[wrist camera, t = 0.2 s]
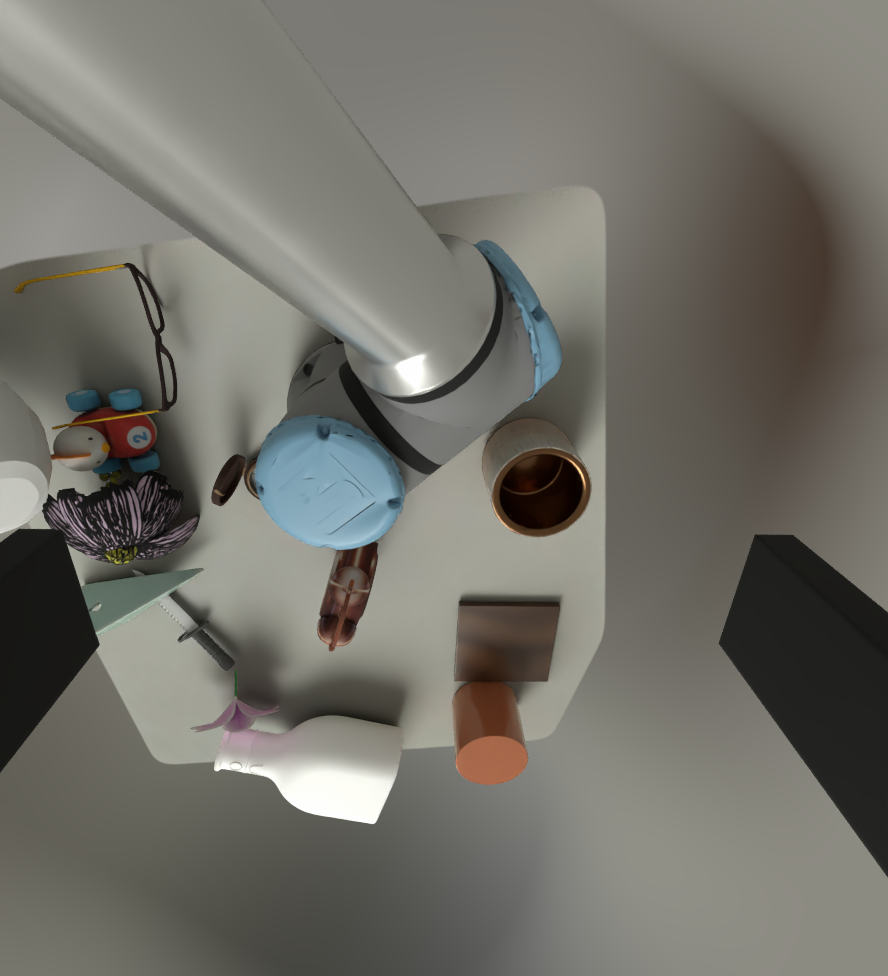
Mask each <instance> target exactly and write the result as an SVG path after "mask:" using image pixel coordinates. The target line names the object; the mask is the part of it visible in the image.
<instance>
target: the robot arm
mask: <svg viewBox="0 0 888 976" xmlns="http://www.w3.org/2000/svg"><path fill="white" fill-rule="evenodd" d="M0 98H1V99H2V100H3V101H5V102H6V103H8V104H9V105H10V106H12V107H13V108H15V109H16V110H18V111H19V112H21V113H22V114H23V115H25V116H26V117H28V118H29V119H30V120H32V121H33V122H35V123H36V124H37V125H39V126H40V127H41V128H43V129H44V130H46V131H47V132H49V133H50V134H51V135H53V136H54V137H56V138H57V139H59V140H60V141H61V142H63V143H64V144H65V145H67V146H68V147H70V148H71V149H72V150H74V151H75V152H77V153H78V154H80V155H81V156H82V157H84V158H85V159H87V160H88V161H89V162H91V163H92V164H94V165H95V166H96V167H98V168H99V169H101V170H102V171H104V172H105V173H106V174H108V175H109V176H110V177H112V178H113V179H115V180H116V181H118V182H119V183H120V184H122V185H123V186H125V187H126V188H127V189H129V190H130V191H132V192H133V193H134V194H136V195H137V196H139V197H140V198H141V199H143V200H144V201H146V202H147V203H148V204H150V205H151V206H153V207H154V208H156V209H157V210H158V211H160V212H161V213H163V214H164V215H165V216H167V217H168V218H170V219H171V220H172V221H174V222H175V223H177V224H178V225H179V226H181V227H182V228H184V229H185V230H187V231H188V232H189V233H191V234H192V235H194V236H195V237H196V238H198V239H199V240H201V241H202V242H203V243H205V244H206V245H208V246H209V247H210V248H212V249H213V250H215V251H216V252H217V253H219V254H220V255H222V256H223V257H225V258H226V259H227V260H229V261H230V262H232V263H233V264H234V265H236V266H237V267H239V268H240V269H241V270H243V271H244V272H246V273H247V274H248V275H250V276H251V277H253V278H254V279H255V280H257V281H258V282H260V283H261V284H263V285H264V286H265V287H267V288H268V289H270V290H271V291H272V292H274V293H275V294H277V295H278V296H279V297H281V298H282V299H284V300H285V301H286V302H288V303H289V304H291V305H292V306H293V307H295V308H296V309H298V310H299V311H301V312H302V313H303V314H305V315H306V316H308V317H309V318H310V319H312V320H313V321H315V322H316V323H317V324H319V325H320V326H322V327H323V328H324V329H326V330H327V331H329V332H330V333H332V334H333V335H334V336H335V342H332V343H329V344H327V345H325V346H322V347H321V348H319V349H317V350H316V351H315V352H313V353H312V354H311V355H310V356H309V357H308V358H307V359H306V360H305V361H304V362H303V363H302V364H301V365H300V367H299V368H298V370H297V371H296V373H295V375H294V377H293V379H292V381H291V384H290V388H289V392H288V398H287V414H286V415H285V416H284V418H283V419H282V420H281V422H280V423H279V424H278V425H277V426H276V427H275V428H273V429H272V430H271V431H270V432H269V433H268V435H267V436H266V440H265V441H264V442H263V444H262V449H261V451H260V454H259V456H258V459H257V463H256V468H255V480H256V486H257V493H258V496H259V498H260V501H261V503H262V505H263V507H264V509H265V510H266V512H267V513H268V515H269V516H270V517H271V518H272V520H273V521H274V522H275V523H276V524H277V525H278V526H279V527H280V528H282V529H283V530H284V531H285V532H287V533H288V534H289V535H291V536H293V537H294V538H296V539H298V540H300V541H302V542H304V543H307V544H309V545H312V546H316V547H332V548H334V549H336V550H346V549H353V548H358V547H361V546H364V545H367V544H370V543H372V542H374V541H375V540H377V539H379V538H380V537H381V536H383V535H384V534H385V533H386V532H387V531H388V530H389V529H390V528H391V526H392V525H393V524H394V522H395V520H396V519H397V516H398V514H400V513H401V510H402V508H403V502H404V496H405V495H406V494H407V493H408V492H409V491H411V490H412V489H413V488H415V487H416V486H417V485H418V484H420V483H421V482H422V481H423V480H425V479H426V478H427V477H428V476H430V475H431V474H432V473H433V472H434V471H436V470H437V469H438V468H440V467H441V466H442V465H444V464H446V463H447V462H448V461H449V460H451V459H452V458H453V457H454V456H456V455H457V454H458V453H460V452H461V451H462V450H463V449H465V448H466V447H467V446H468V445H470V444H471V443H472V442H473V441H475V440H476V439H477V438H479V437H480V436H481V435H482V434H484V433H485V432H486V431H487V430H489V429H490V428H491V427H493V426H494V425H495V424H496V423H498V422H499V421H500V420H501V419H503V418H504V417H505V416H506V415H508V414H509V413H510V412H512V411H513V410H514V409H515V408H517V407H518V406H519V405H520V404H522V403H523V402H527V401H529V400H531V399H532V398H534V397H535V396H536V394H537V392H538V390H539V389H540V388H541V387H543V386H544V385H545V384H546V383H547V382H548V381H549V380H550V379H552V378H553V377H554V376H555V375H556V374H557V372H558V370H559V369H560V366H561V363H562V350H561V345H560V342H559V339H558V336H557V333H556V331H555V328H554V326H553V324H552V322H551V320H550V318H549V316H548V314H547V313H546V312H545V311H544V309H543V308H541V305H540V301H539V299H538V297H537V295H536V293H535V291H534V290H533V288H532V287H531V285H530V284H529V282H528V281H527V279H526V278H525V276H524V275H523V273H522V272H521V271H520V269H519V268H518V267H517V265H516V264H515V263H514V262H513V261H512V259H511V258H510V257H509V256H508V255H507V254H506V253H505V252H504V251H503V249H501V248H500V247H499V246H498V245H497V244H495V243H494V242H492V241H488V240H482V241H480V242H478V243H477V244H475V245H471V244H470V243H469V242H467V241H465V240H463V239H462V238H459V237H456V236H452V235H446V234H436V232H435V231H434V230H433V228H432V227H431V226H430V224H429V223H428V222H427V220H426V219H425V218H424V216H423V215H422V214H421V212H420V211H419V209H418V208H417V207H416V205H415V204H414V203H413V202H412V200H411V199H410V197H409V196H408V195H407V193H406V192H405V191H404V189H403V188H402V187H401V185H400V184H399V182H398V181H397V180H396V179H395V177H394V176H393V175H392V173H391V172H390V170H389V169H388V168H387V166H386V165H385V164H384V162H383V161H382V160H381V158H380V157H379V155H378V154H377V153H376V151H375V150H374V149H373V147H372V146H371V145H370V144H369V142H368V141H367V139H366V138H365V137H364V135H363V134H362V133H361V131H360V130H359V128H358V127H357V126H356V125H355V123H354V122H353V120H352V119H351V118H350V117H349V115H348V114H347V113H346V111H345V110H344V108H343V107H342V106H341V104H340V103H339V101H338V100H337V99H336V97H335V96H334V95H333V93H332V92H331V91H330V89H329V88H328V87H327V85H326V84H325V83H324V82H323V80H322V79H321V77H320V76H319V74H318V73H317V72H316V70H315V69H314V68H313V67H312V65H311V64H310V62H309V61H308V60H307V58H306V57H305V56H304V54H303V53H302V52H301V50H300V49H299V48H298V46H297V45H296V43H295V42H294V41H293V40H292V38H291V37H290V35H289V34H288V33H287V31H286V30H285V29H284V27H283V26H282V25H281V23H280V22H279V20H278V19H277V18H276V16H275V15H274V14H273V12H272V11H271V10H270V8H269V7H268V6H267V4H266V3H265V2H264V0H0ZM719 644H720V646H721V647H722V649H723V650H724V651H725V653H726V654H727V655H728V657H729V658H730V660H731V661H732V662H733V664H734V665H735V667H736V668H737V669H738V671H739V672H740V673H741V675H742V676H743V678H744V679H745V680H746V682H747V683H748V685H749V686H750V687H751V689H752V690H753V691H754V693H755V694H756V696H757V697H758V698H759V700H760V701H761V703H762V704H763V705H764V707H765V708H766V709H767V711H768V712H769V714H770V715H771V716H772V718H773V719H774V721H775V722H776V723H777V725H778V726H779V728H780V729H781V730H782V732H783V733H784V734H785V736H786V737H787V739H788V740H789V741H790V743H791V744H792V745H793V747H794V748H795V750H796V751H797V752H798V754H799V755H800V756H801V758H802V759H803V761H804V762H805V764H806V765H807V766H808V767H809V769H810V770H811V772H812V773H813V775H814V776H815V777H816V779H817V780H818V782H819V783H820V784H821V786H822V787H823V788H824V790H825V791H826V793H827V794H828V795H829V797H830V798H831V799H832V801H833V802H834V804H835V805H836V806H837V808H838V809H839V811H840V812H841V813H842V815H843V816H844V817H845V819H846V820H847V822H848V823H849V824H850V826H851V827H852V829H853V830H854V831H855V833H856V834H857V835H858V837H859V838H860V840H861V841H862V842H863V844H864V845H865V847H866V848H867V849H868V851H869V852H870V853H871V855H872V856H873V858H874V859H875V860H876V862H877V863H878V865H879V866H880V867H881V869H882V870H883V871H884V873H885V874H886V876H887V877H888V612H887V611H885V610H884V609H883V608H882V607H881V606H879V605H878V604H877V603H876V602H874V601H873V600H872V599H871V598H869V597H868V596H867V595H866V594H865V593H863V592H862V591H861V590H860V589H858V588H857V587H856V586H855V585H853V584H852V583H851V582H850V581H848V580H847V579H846V578H845V577H844V576H843V575H841V574H840V573H839V572H838V571H836V570H835V569H834V568H833V567H831V566H830V565H829V564H828V563H827V562H825V561H824V560H823V559H822V558H820V557H819V556H818V555H817V554H815V553H814V552H813V551H812V550H811V549H809V548H808V547H807V546H806V545H805V544H803V543H802V542H801V541H800V540H798V539H797V538H796V537H794V536H793V535H755V536H754V539H753V542H752V545H751V548H750V551H749V554H748V557H747V560H746V563H745V566H744V569H743V572H742V575H741V579H740V581H739V584H738V587H737V590H736V593H735V596H734V599H733V602H732V605H731V608H730V611H729V614H728V617H727V620H726V623H725V626H724V629H723V632H722V635H721V638H720V641H719ZM99 645H100V644H99V641H98V638H97V635H96V632H95V629H94V626H93V623H92V620H91V617H90V614H89V611H88V608H87V605H86V601H85V598H84V595H83V592H82V589H81V586H80V583H79V580H78V577H77V574H76V571H75V568H74V565H73V562H72V559H71V556H70V553H69V549H68V546H67V543H66V540H65V537H64V534H63V531H62V529H18V530H17V531H15V532H14V533H12V534H11V535H10V536H9V537H7V538H6V539H4V540H3V541H2V542H0V772H1V771H2V770H3V768H4V767H5V766H6V765H7V763H8V762H9V761H10V759H11V758H12V757H13V756H14V754H15V753H16V752H17V750H18V749H19V748H20V747H21V745H22V744H23V743H24V741H25V740H26V739H27V738H28V736H29V735H30V734H31V732H32V731H33V730H34V729H35V727H36V726H37V725H38V723H39V722H40V721H41V720H42V718H43V717H44V716H45V715H46V713H47V712H48V711H49V709H50V708H51V707H52V705H53V704H54V703H55V702H56V700H57V699H58V698H59V696H60V695H61V694H62V693H63V691H64V690H65V689H66V688H67V686H68V685H69V684H70V682H71V681H72V680H73V679H74V677H75V676H76V675H77V673H78V672H79V671H80V670H81V668H82V667H83V665H84V664H85V663H86V662H87V661H88V659H89V658H90V657H91V655H92V654H93V653H94V651H95V650H96V649H97V648H98V646H99Z"/></svg>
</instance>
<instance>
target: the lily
mask: <svg viewBox="0 0 888 976" xmlns="http://www.w3.org/2000/svg"><path fill="white" fill-rule="evenodd" d="M278 707H279V706H275V707H272V708H269V709H266V710H262V711H261V710H258V709H255V708H252V707H250V706H248V705H246V704H245V703H243V702H241V701H239V700H238V699H237V670H235V698H234V701H233V702H232V703H231V704H230V705H229V707H228V708H227V709H226V710H225V711H224V712H223V713H222V715H221V716H220V717H219V718H218V719H217V720H215V721H214V722H213V723H211V724H207V725H202V726H197V727H192V728H191V729H194V730H198V731H196V732H200V731H205V730H210V729H213V728H217V727H220V726H222V725H223V728H224V729H225V730H226V731H229V732H241V731H244V730H246V729H248V728H250V727H251V726H252V725H253V723H254V721H255V717H259V716H264V715H268V714H271V713H274V712H277V711H279V710H275V709H277V708H278Z"/></svg>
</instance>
